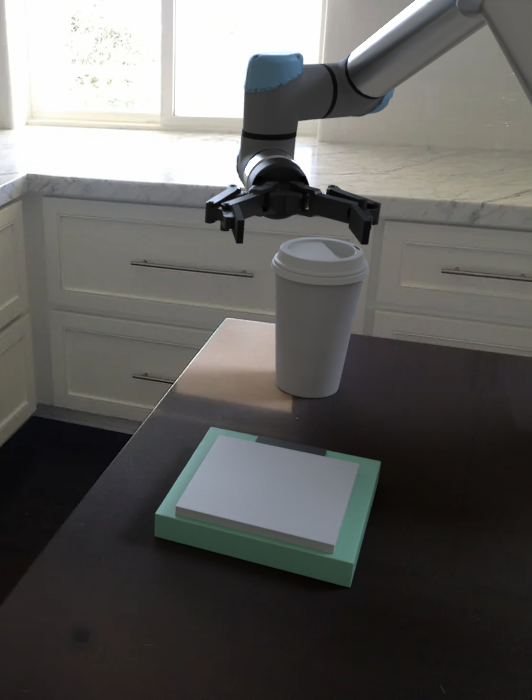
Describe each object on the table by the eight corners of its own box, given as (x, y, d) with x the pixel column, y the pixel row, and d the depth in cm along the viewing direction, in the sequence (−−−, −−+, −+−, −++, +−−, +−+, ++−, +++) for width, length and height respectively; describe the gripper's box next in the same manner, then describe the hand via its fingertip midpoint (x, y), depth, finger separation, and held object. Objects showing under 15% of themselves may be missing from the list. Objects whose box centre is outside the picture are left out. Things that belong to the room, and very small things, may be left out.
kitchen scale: (209, 446, 81) (211, 418, 79) (377, 482, 75) (382, 452, 73) (153, 536, 68) (154, 504, 67) (350, 588, 62) (355, 554, 61)
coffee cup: (352, 411, 86) (371, 268, 80) (255, 398, 89) (266, 259, 83) (355, 371, 95) (373, 239, 88) (266, 360, 97) (277, 231, 91)
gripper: (368, 213, 115) (414, 266, 96) (179, 212, 117) (187, 263, 98) (376, 156, 112) (425, 199, 93) (181, 156, 114) (190, 198, 94)
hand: (303, 232), depth 95 cm, fingers open, 13 cm apart
